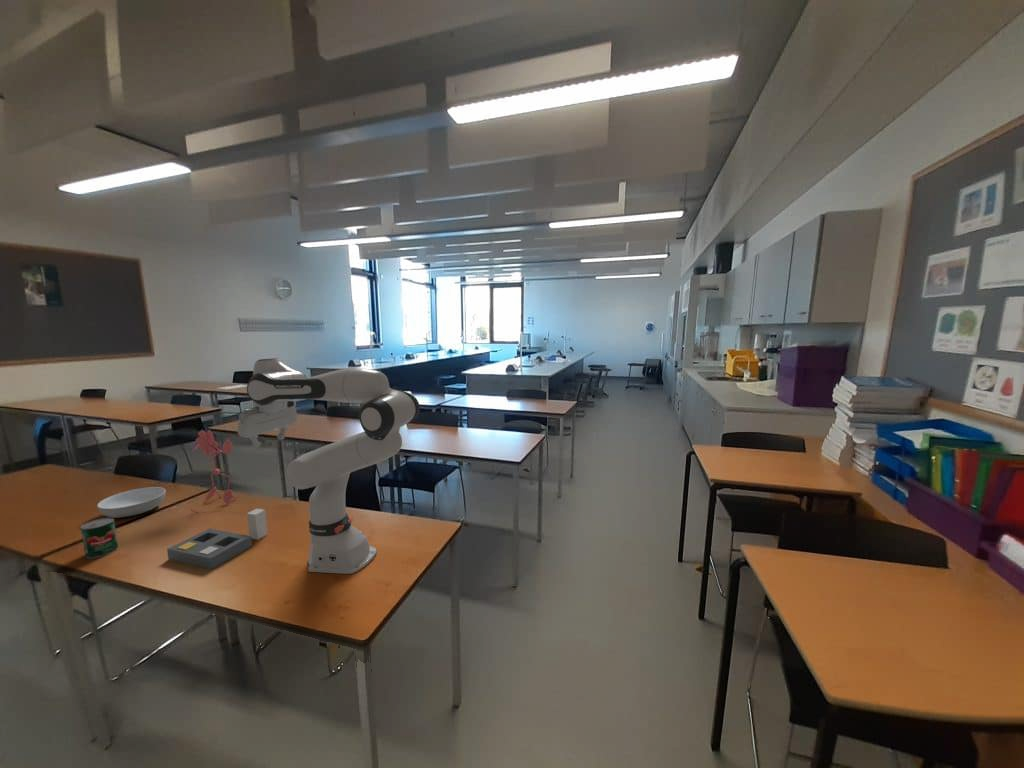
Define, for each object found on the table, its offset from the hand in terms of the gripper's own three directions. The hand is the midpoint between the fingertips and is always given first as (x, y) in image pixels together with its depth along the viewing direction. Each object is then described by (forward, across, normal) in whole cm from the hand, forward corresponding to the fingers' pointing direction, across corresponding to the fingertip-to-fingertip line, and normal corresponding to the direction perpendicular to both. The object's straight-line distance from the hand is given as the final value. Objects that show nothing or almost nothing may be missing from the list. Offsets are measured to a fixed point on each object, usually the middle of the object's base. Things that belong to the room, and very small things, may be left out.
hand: (269, 442), depth 131 cm
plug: (+40, +3, +9) cm, 41 cm away
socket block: (+40, -10, +15) cm, 44 cm away
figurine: (+44, +18, +53) cm, 71 cm away
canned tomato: (+44, -20, +53) cm, 72 cm away
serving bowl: (+47, +4, +79) cm, 92 cm away
